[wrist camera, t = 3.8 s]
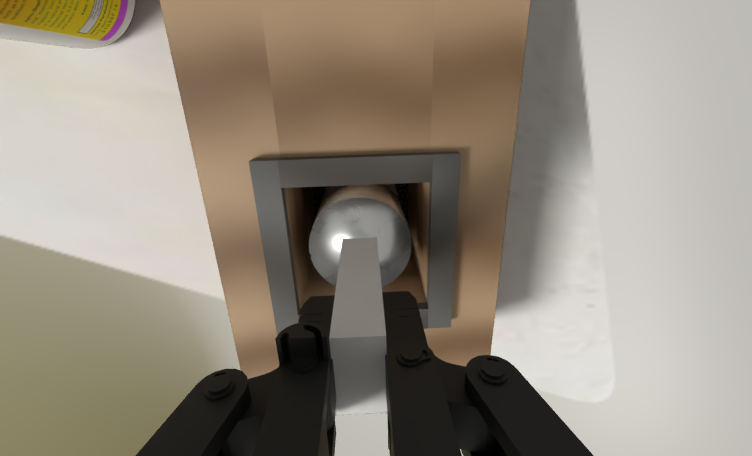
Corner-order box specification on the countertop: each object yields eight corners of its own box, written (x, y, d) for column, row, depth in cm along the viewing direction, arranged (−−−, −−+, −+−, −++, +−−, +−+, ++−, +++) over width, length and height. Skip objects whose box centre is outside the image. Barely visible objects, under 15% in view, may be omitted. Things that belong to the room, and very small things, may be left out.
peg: (321, 164, 24) (303, 200, 16) (396, 161, 24) (412, 196, 16) (327, 233, 26) (313, 293, 18) (397, 230, 26) (411, 289, 18)
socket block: (230, 20, 20) (146, -21, 13) (472, 13, 21) (540, -31, 13) (280, 333, 29) (248, 428, 21) (453, 324, 29) (487, 415, 21)
